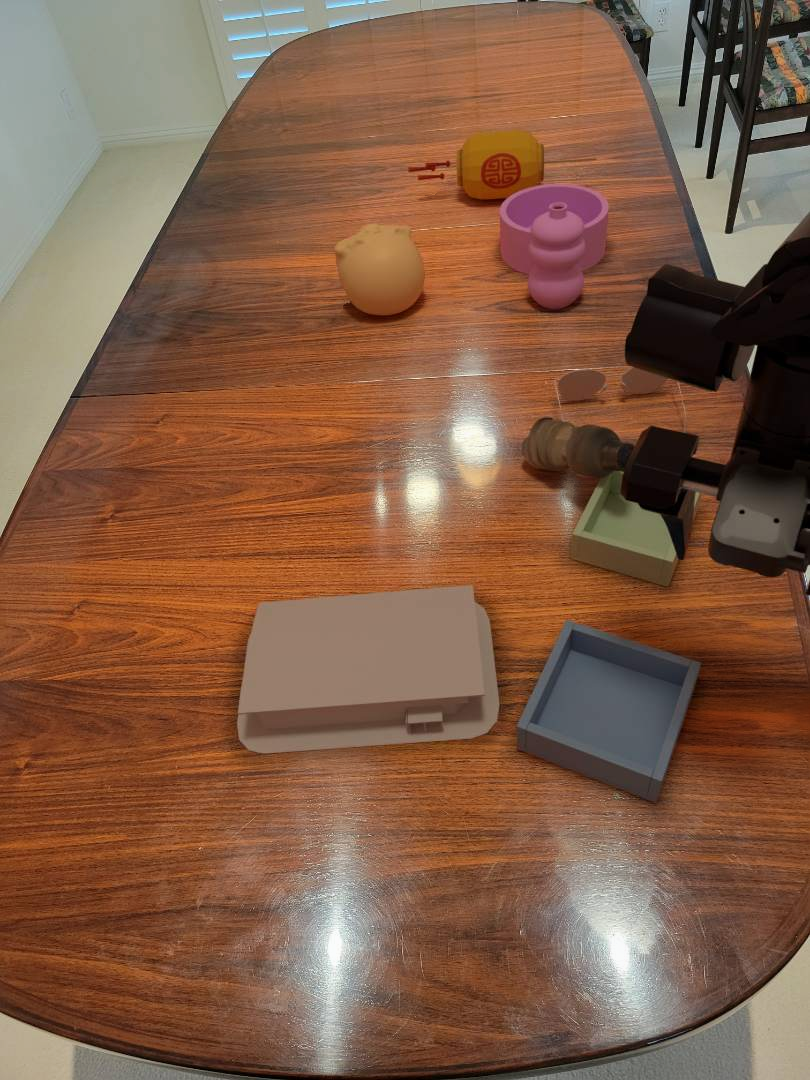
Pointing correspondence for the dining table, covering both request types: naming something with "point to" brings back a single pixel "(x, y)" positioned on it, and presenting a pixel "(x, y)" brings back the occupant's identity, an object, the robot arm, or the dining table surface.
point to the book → (368, 671)
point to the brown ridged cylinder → (575, 448)
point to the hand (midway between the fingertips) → (744, 573)
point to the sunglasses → (591, 381)
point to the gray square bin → (609, 709)
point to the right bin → (624, 535)
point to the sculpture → (381, 269)
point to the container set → (554, 238)
